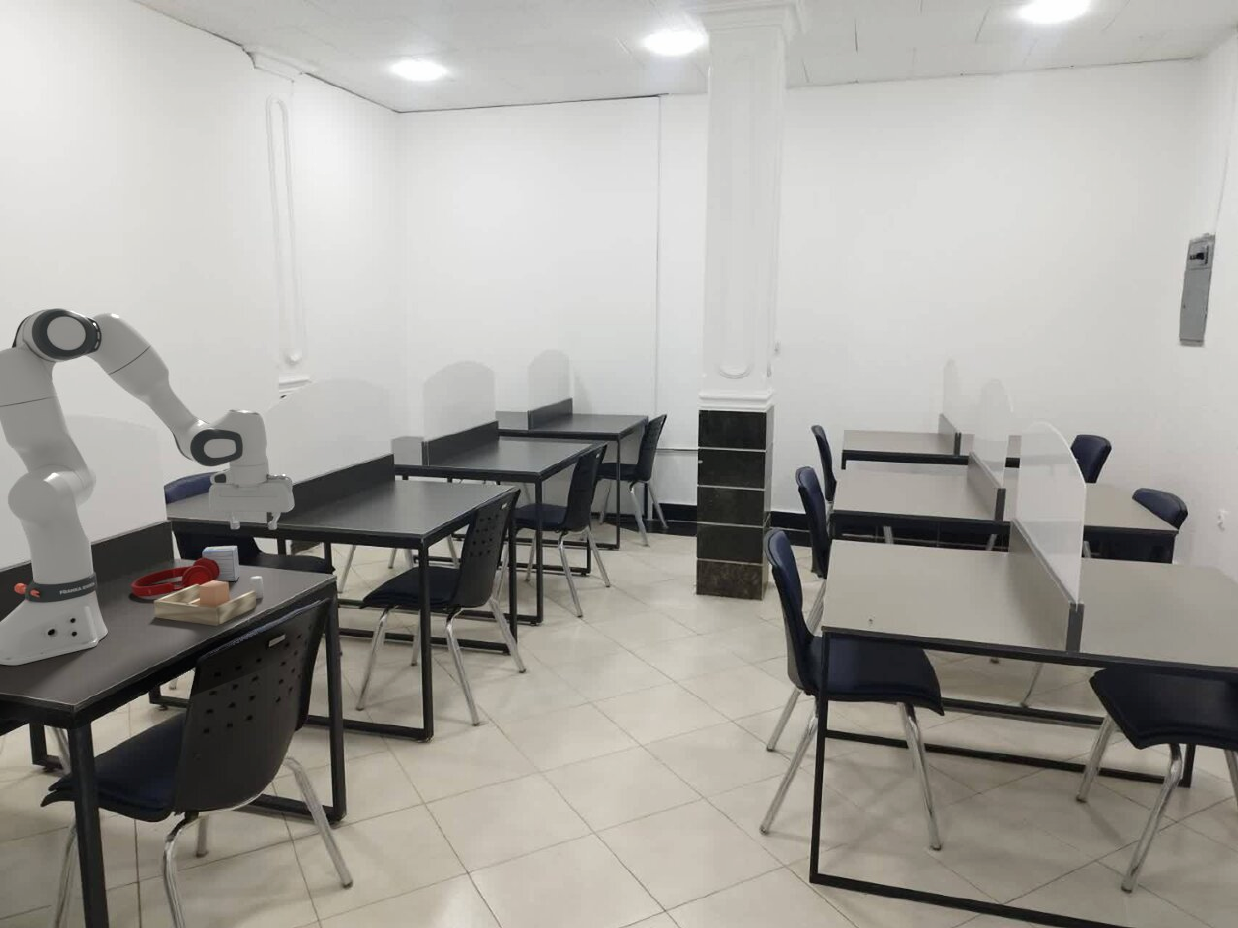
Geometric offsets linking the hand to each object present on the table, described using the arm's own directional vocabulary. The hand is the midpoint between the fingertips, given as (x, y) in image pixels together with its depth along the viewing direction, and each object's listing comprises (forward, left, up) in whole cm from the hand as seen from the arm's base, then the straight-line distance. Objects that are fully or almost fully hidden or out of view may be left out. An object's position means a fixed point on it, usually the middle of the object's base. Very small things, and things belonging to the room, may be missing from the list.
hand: (254, 528), depth 217 cm
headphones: (-8, +23, -18) cm, 30 cm away
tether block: (-8, -2, -18) cm, 19 cm away
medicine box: (+3, +20, -18) cm, 27 cm away
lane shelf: (-14, 0, -18) cm, 23 cm away
